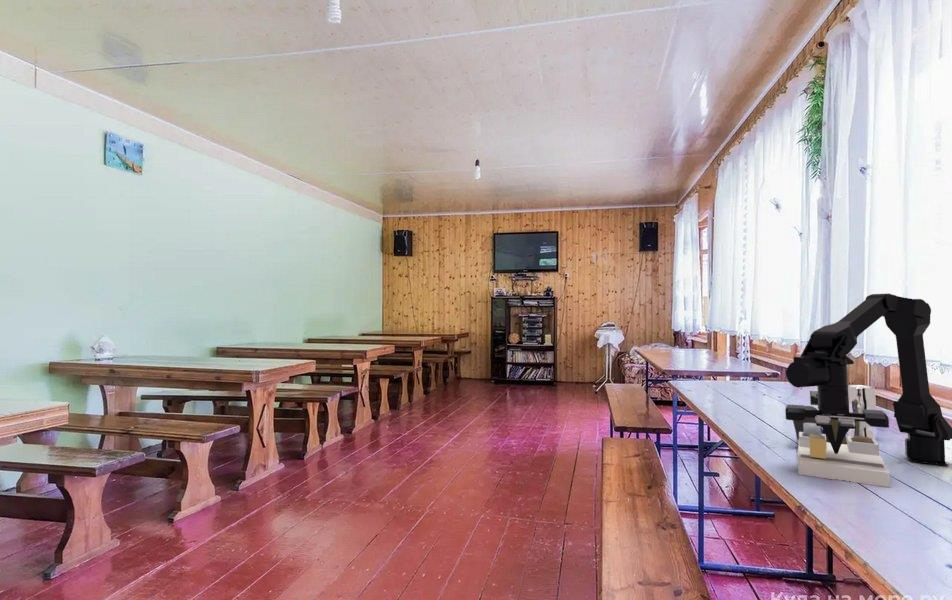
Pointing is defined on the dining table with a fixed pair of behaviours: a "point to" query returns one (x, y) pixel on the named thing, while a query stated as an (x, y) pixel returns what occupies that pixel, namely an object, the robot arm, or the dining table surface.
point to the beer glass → (861, 408)
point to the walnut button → (862, 439)
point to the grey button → (811, 429)
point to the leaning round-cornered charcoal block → (799, 424)
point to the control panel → (845, 462)
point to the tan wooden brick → (817, 446)
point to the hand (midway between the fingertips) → (835, 453)
